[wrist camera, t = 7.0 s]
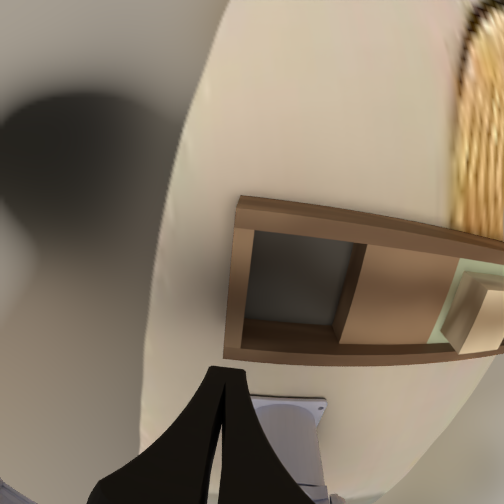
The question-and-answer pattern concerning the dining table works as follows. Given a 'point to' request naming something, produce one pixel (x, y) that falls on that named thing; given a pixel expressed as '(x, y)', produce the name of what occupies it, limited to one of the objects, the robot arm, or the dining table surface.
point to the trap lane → (345, 286)
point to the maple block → (476, 314)
